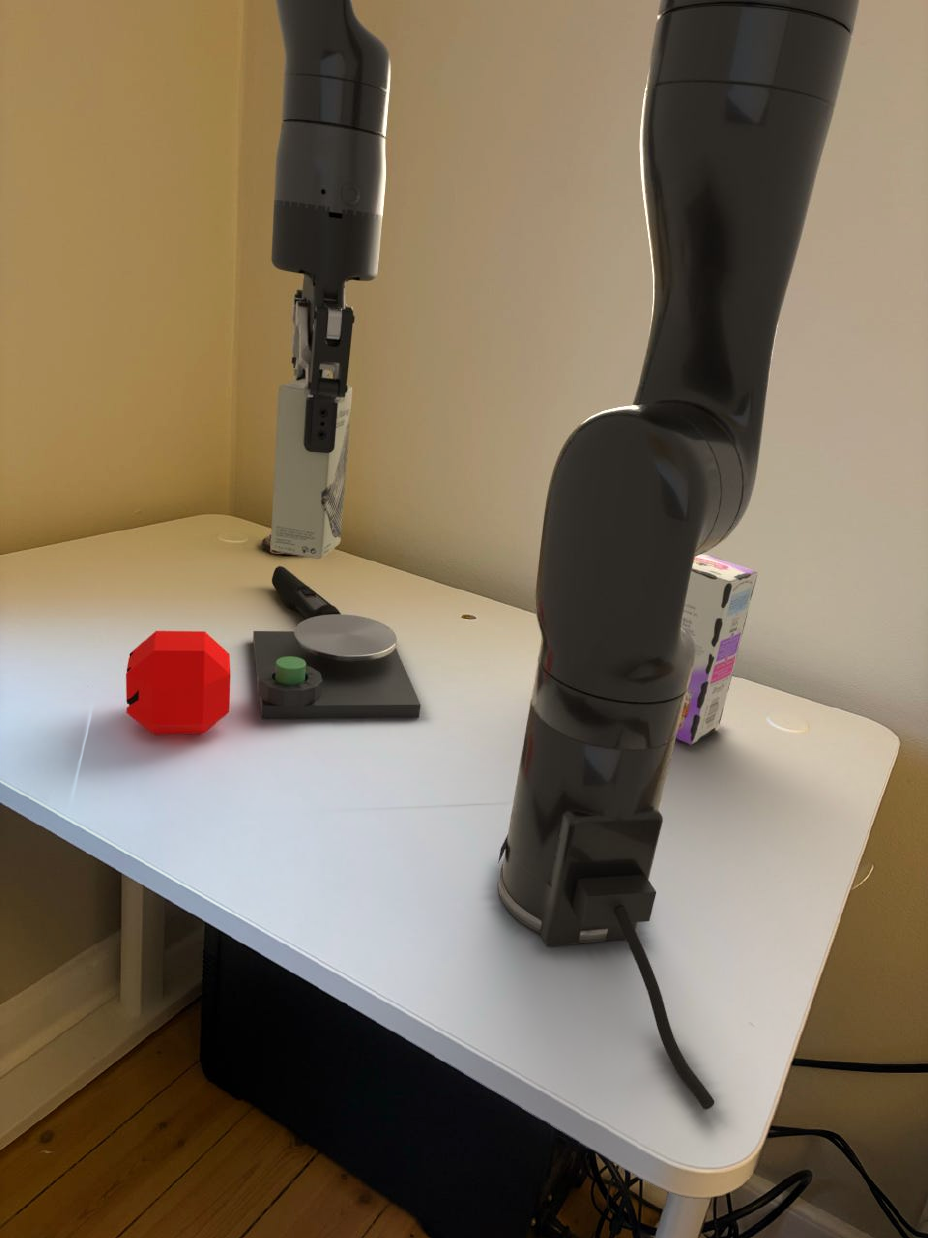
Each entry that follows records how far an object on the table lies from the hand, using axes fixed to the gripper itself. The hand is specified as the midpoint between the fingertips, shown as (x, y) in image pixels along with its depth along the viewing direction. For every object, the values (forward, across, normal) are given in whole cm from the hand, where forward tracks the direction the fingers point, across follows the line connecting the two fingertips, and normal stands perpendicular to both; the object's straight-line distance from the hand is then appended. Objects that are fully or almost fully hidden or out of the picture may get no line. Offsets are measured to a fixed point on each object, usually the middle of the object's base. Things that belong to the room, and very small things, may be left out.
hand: (313, 439), depth 70 cm
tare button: (+22, -3, 0) cm, 22 cm away
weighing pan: (+22, -11, +6) cm, 25 cm away
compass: (+25, -46, +4) cm, 52 cm away
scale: (+25, -8, +4) cm, 27 cm away
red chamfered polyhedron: (+25, 0, -10) cm, 27 cm away
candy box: (+25, -1, +34) cm, 42 cm away
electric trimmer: (+25, -24, +4) cm, 35 cm away
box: (+9, 0, 0) cm, 9 cm away
